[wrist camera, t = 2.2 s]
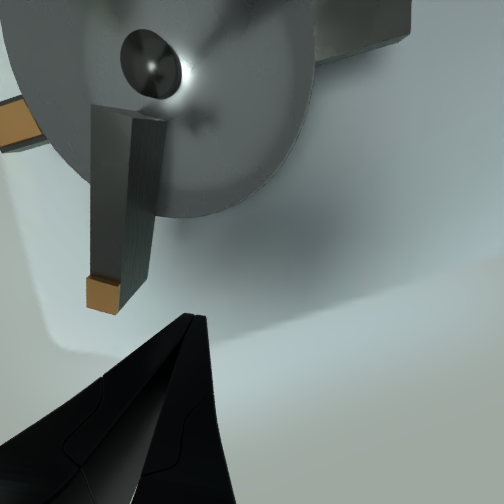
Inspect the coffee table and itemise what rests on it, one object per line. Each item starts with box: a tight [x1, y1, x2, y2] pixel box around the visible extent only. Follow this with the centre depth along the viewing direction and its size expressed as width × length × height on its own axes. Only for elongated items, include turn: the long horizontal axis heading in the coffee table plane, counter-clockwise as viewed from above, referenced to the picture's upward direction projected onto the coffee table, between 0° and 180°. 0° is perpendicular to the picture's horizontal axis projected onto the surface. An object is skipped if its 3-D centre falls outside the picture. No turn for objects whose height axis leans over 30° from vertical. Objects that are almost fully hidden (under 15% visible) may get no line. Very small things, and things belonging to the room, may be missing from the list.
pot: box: [0, 0, 412, 205], centre depth 15 cm, size 24×15×5 cm, turn 103°
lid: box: [0, 0, 315, 315], centre depth 11 cm, size 19×15×5 cm
